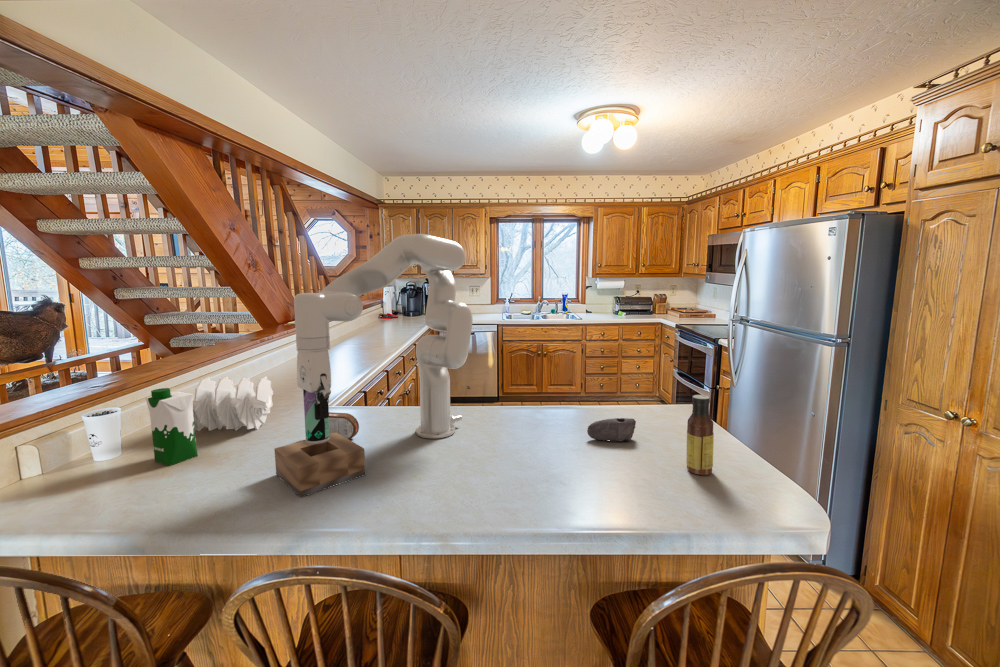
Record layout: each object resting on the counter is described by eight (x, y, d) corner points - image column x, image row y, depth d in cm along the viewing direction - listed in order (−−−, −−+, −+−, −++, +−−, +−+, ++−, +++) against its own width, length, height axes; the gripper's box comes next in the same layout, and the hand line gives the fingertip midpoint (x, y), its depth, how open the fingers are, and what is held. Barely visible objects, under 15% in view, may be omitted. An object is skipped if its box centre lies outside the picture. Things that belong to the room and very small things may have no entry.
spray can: (310, 436, 111) (306, 359, 108) (332, 435, 111) (328, 359, 109) (302, 444, 106) (298, 363, 103) (325, 443, 106) (321, 363, 104)
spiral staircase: (201, 437, 146) (278, 431, 149) (166, 432, 130) (253, 425, 132) (208, 384, 152) (282, 379, 154) (175, 373, 135) (258, 367, 137)
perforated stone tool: (587, 443, 131) (588, 420, 130) (585, 436, 136) (586, 415, 135) (638, 444, 130) (639, 422, 129) (634, 437, 135) (635, 416, 134)
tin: (360, 438, 135) (358, 412, 133) (355, 442, 131) (354, 415, 130) (313, 436, 136) (312, 411, 135) (308, 440, 133) (306, 414, 132)
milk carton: (149, 462, 117) (140, 390, 115) (184, 450, 126) (178, 382, 123) (167, 468, 114) (160, 394, 111) (203, 455, 122) (197, 386, 119)
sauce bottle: (710, 467, 114) (715, 394, 111) (713, 478, 108) (719, 401, 106) (683, 464, 116) (688, 392, 114) (685, 474, 110) (690, 398, 108)
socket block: (337, 456, 121) (336, 432, 120) (365, 474, 110) (364, 448, 109) (276, 474, 110) (274, 448, 109) (300, 497, 99) (298, 468, 98)
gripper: (284, 341, 109) (288, 411, 111) (311, 349, 97) (315, 427, 99) (314, 338, 114) (317, 405, 116) (344, 346, 102) (347, 420, 104)
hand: (316, 415), depth 108 cm, fingers closed on spray can, 5 cm apart
